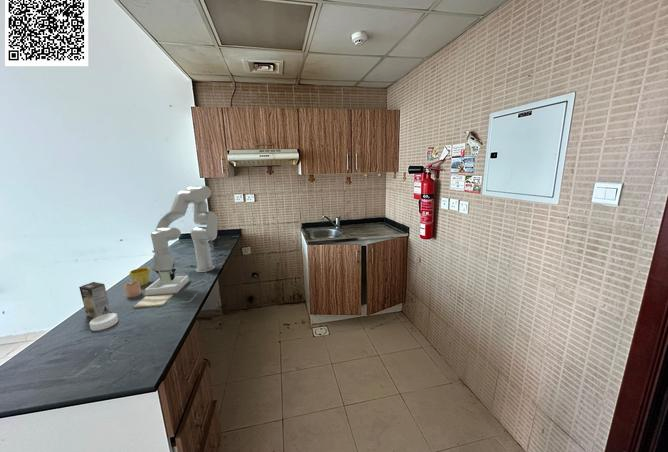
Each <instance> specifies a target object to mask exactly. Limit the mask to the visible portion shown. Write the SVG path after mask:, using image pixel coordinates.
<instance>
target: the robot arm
mask: <svg viewBox="0 0 668 452" xmlns="http://www.w3.org/2000/svg"><path fill="white" fill-rule="evenodd" d="M211 195H212V190H211V188H210V187H209V186H207V185H196V186H195V185H192V186H191V185H190V186H187V188H185V190H179V191H178V192H176V194H175V197H174V199H173V202H172V206H171V208H170V210H169V211H168V212H167V213H165V215H163V216H162V217H161V218H160V220H159V221H158V222H157V225H156V228H155V231H152V232H151V234H150V237H151V241H152V242H151V243H152V247H153V250H151V252H152V253H153V255H152V256H153V257H152V260H153V267H152V271H153V272H155V273H156V274H158V276H159V278H160V279H161V277H160V272H161V271H165V270H169V271H170V273H171V274H170V277H171V280H173V279H174V278H175V277H176V275H175V272H176V271H177V270H178V269H179V268H180V266H179V265H178V264H176V262H175V258H174V255H173V253H172V252H171V250H170V247H169V242H170V241H175V240H177V239H179V238H180V237H181V235H182V233H181V230H180V229H179V228H177V227H170V226H171V224H172V223H174V222H176V221H177V220H179V219H181V218H183V217H185V215H186V213H187V211H188V210H187V209H188V207H189V205H190V204H193V223H194V224H195V225H200V226H196V227H193V228H192V229H191V231H190V236H191V240H192V241H193V246H194V251H195V258H196V265H197V267H196V268H195V271H196V272H197V273H205V272H206V273H207V272H209V271H212V270H214V269H215V268H216V266H215V265H214V264H213V263H212V262H213V259H212V255H211V248H210V243H209V242H208V241H214V240H216V238H217V236H218V216H217V214H216V213H215V212H214V211H208V203H207V201H206V200H207V199H209V198H210V197H211Z"/></svg>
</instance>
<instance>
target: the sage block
mask: <svg viewBox="0 0 668 452" xmlns="http://www.w3.org/2000/svg"><path fill="white" fill-rule="evenodd" d="M170 274H171V273H170V271H169V270H165V271H161V272H160V275H159V278H160V277H161V281H162V283H171V282H172V281H173V280H174V279H173V280H171V277H170Z"/></svg>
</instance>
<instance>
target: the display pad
mask: <svg viewBox="0 0 668 452" xmlns="http://www.w3.org/2000/svg"><path fill="white" fill-rule="evenodd" d="M174 294H175V293H170V294H159V295H147V296H146V295H145V296H144V297H143V298H141V300H139V301H138V302H137V303H136V304H134V305H133V307H132V308H133V309H143V308H152V307H154V308H155V307H164V306H165V305H166V304H167V302H168V301H169V300H170V299H171V298H172V296H174Z"/></svg>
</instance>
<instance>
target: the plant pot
mask: <svg viewBox="0 0 668 452" xmlns="http://www.w3.org/2000/svg"><path fill="white" fill-rule="evenodd" d="M150 274H151V269H150V268H149V267H139V268H136V269H132V270H130V271H129V276H130V278H131V279H132V281H139V282H140V287H142V286H144V285H147V284H149V278H150Z"/></svg>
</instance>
